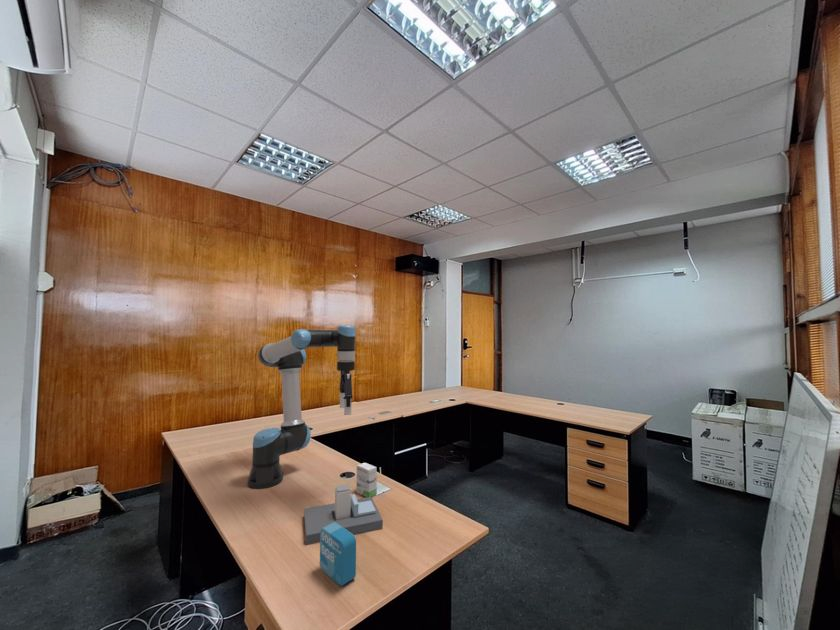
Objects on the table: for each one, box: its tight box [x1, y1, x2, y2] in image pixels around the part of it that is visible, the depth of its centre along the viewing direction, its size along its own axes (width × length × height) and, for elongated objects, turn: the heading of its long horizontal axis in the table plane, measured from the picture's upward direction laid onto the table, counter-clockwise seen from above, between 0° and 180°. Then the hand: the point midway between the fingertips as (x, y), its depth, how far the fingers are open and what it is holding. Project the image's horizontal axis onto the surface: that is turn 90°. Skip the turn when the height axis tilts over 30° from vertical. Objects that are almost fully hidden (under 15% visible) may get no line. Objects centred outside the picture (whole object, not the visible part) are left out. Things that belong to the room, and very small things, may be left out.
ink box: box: [356, 462, 378, 498], centre depth 145 cm, size 9×5×12 cm, turn 49°
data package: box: [319, 522, 357, 587], centre depth 97 cm, size 12×4×12 cm, turn 48°
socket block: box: [303, 496, 384, 546], centre depth 123 cm, size 18×26×3 cm
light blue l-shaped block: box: [351, 493, 376, 517], centre depth 125 cm, size 8×8×4 cm
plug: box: [334, 483, 352, 521], centre depth 123 cm, size 5×5×13 cm
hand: (345, 411), depth 141 cm, fingers open, 13 cm apart
